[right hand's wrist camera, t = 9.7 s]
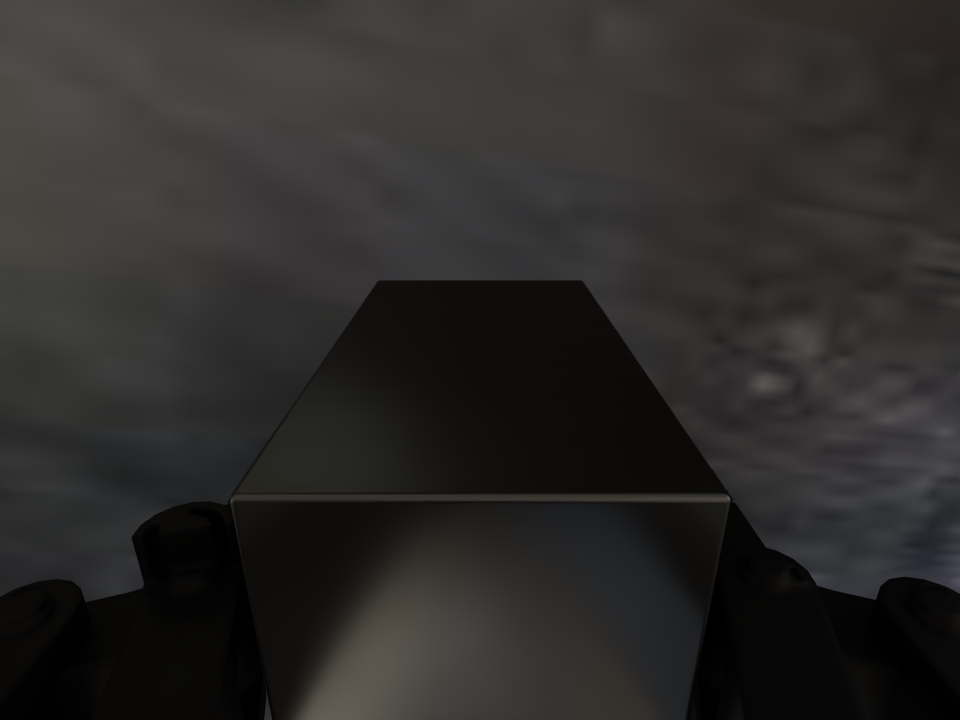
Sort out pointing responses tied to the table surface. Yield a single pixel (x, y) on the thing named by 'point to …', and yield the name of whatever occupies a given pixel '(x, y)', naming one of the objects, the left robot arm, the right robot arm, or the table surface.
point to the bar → (480, 518)
